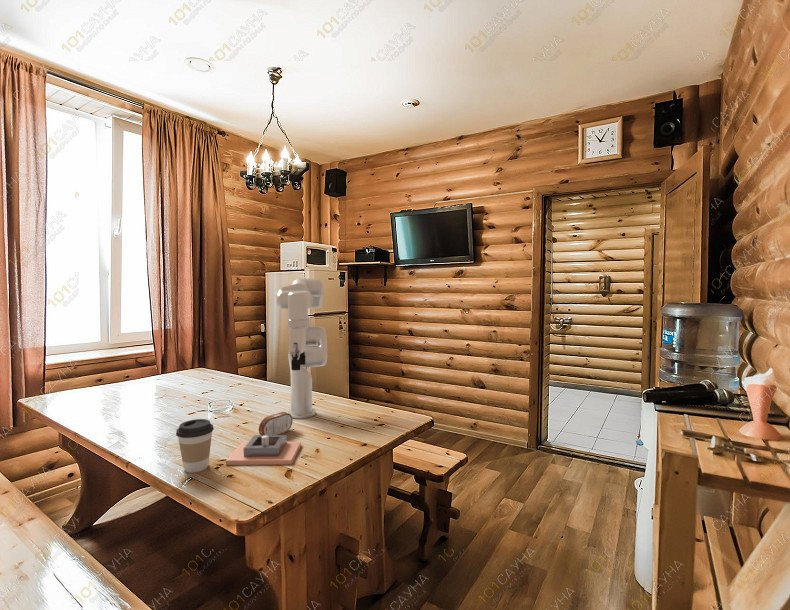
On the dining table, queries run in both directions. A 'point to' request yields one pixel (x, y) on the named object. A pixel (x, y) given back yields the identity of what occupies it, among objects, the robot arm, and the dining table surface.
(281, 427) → the tin
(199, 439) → the coffee cup
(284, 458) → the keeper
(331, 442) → the dining table surface
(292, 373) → the robot arm
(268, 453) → the grey square frame
